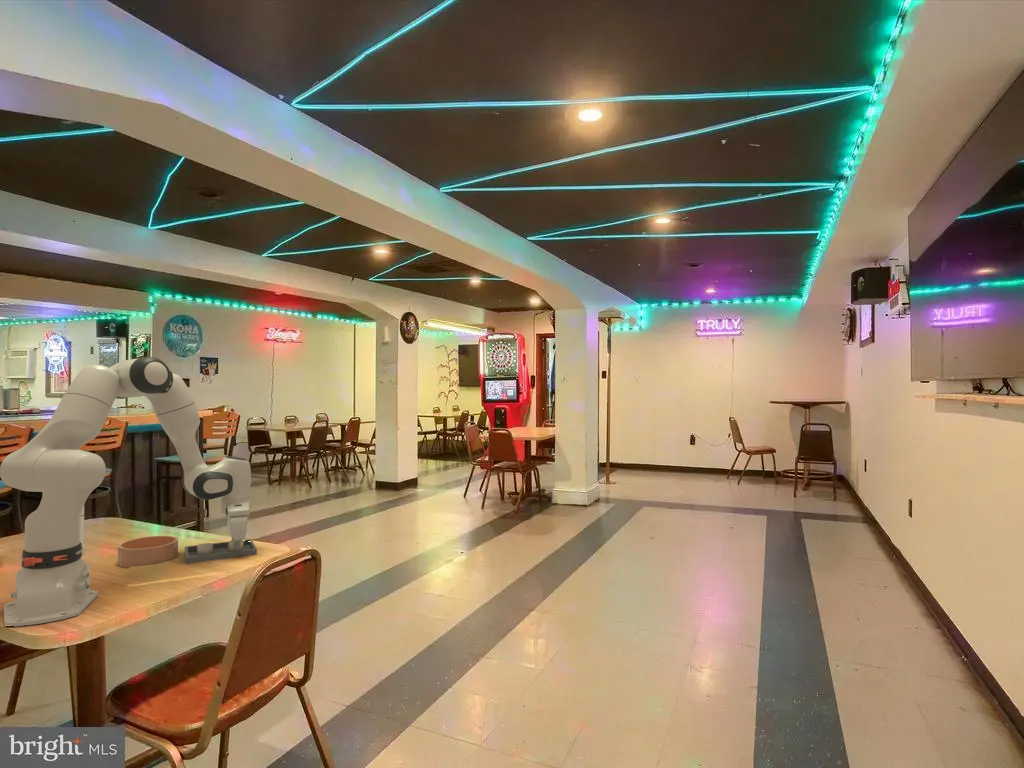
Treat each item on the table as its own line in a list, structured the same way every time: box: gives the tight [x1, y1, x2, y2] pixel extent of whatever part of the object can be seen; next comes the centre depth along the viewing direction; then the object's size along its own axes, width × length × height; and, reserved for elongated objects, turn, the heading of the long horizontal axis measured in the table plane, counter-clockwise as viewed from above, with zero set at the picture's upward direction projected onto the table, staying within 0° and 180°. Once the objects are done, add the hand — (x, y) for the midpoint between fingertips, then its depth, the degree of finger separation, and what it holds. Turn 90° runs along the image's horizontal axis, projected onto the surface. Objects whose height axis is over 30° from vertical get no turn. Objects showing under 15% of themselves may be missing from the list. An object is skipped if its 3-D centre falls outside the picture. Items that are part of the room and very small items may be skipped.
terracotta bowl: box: [117, 535, 179, 568], centre depth 183 cm, size 16×16×6 cm
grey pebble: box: [197, 542, 213, 556], centre depth 186 cm, size 4×4×3 cm
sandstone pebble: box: [227, 539, 244, 552], centre depth 191 cm, size 4×4×3 cm
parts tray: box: [184, 538, 258, 565], centre depth 188 cm, size 14×20×2 cm
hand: (235, 547), depth 191 cm, fingers closed on sandstone pebble, 4 cm apart
